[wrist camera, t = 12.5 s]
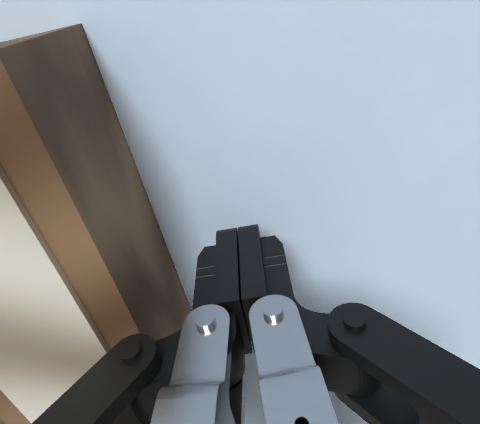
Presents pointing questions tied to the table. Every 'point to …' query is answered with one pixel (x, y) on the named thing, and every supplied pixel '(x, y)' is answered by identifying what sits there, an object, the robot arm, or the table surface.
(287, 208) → the table surface
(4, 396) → the walnut frame
